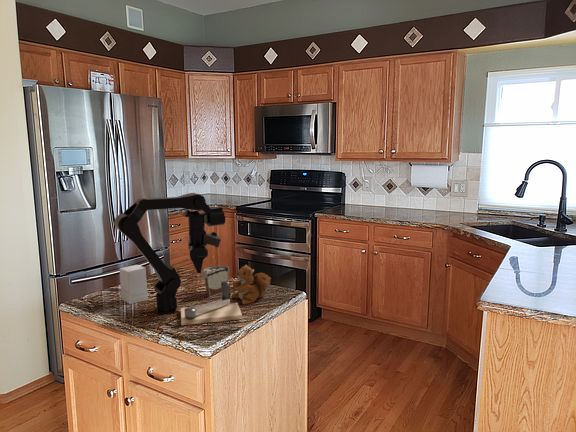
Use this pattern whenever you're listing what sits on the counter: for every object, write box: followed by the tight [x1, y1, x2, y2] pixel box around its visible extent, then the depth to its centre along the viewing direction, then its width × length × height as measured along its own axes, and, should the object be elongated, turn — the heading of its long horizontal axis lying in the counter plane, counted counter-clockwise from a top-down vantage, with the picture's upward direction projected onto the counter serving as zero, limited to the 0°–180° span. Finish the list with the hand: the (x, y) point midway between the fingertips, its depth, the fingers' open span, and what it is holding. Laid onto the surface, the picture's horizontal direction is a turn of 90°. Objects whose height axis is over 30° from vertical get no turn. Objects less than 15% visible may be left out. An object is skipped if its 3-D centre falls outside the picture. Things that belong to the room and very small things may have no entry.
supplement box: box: [119, 264, 149, 305], centre depth 170 cm, size 7×7×13 cm
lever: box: [184, 280, 231, 319], centre depth 153 cm, size 19×4×8 cm, turn 138°
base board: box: [180, 302, 243, 326], centre depth 154 cm, size 20×12×2 cm, turn 104°
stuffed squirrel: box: [231, 264, 272, 305], centre depth 170 cm, size 10×14×13 cm
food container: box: [201, 265, 231, 298], centre depth 177 cm, size 12×6×10 cm, turn 141°
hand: (198, 269), depth 164 cm, fingers open, 9 cm apart
